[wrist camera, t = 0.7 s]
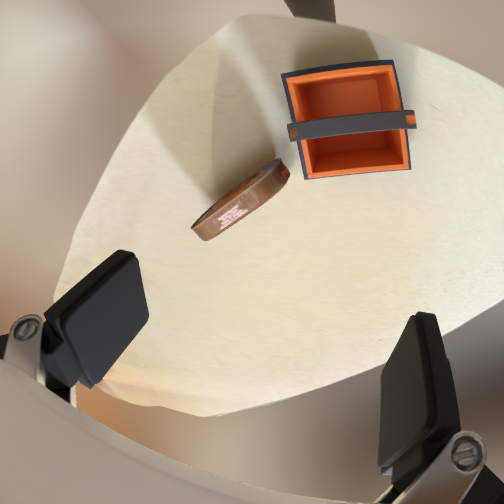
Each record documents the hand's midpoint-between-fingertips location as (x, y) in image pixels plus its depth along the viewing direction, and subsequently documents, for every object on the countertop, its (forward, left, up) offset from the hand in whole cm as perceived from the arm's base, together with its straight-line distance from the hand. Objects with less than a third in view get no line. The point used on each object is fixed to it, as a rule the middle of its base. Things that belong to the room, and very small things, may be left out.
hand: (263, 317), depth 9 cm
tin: (+4, -11, -31) cm, 33 cm away
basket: (-4, +4, -30) cm, 31 cm away
